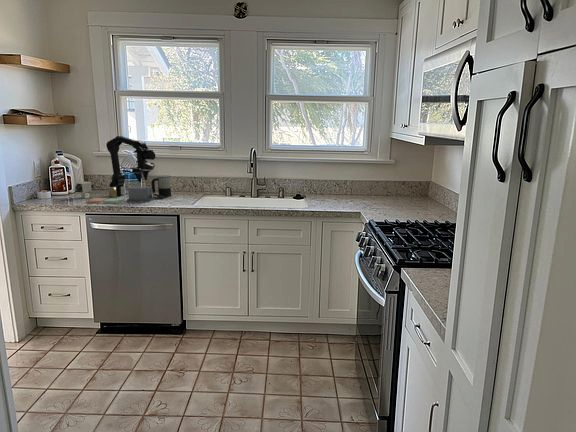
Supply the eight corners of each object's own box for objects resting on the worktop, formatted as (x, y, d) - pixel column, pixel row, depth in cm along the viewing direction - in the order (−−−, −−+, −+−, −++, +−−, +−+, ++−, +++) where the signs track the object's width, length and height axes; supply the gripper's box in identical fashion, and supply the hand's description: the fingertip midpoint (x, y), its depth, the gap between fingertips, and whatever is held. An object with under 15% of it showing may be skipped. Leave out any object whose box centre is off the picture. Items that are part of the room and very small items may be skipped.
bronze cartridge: (111, 197, 306) (110, 186, 304) (118, 198, 305) (117, 186, 303) (108, 199, 301) (106, 187, 299) (114, 199, 300) (113, 188, 298)
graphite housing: (132, 198, 302) (131, 186, 300) (154, 199, 301) (153, 186, 299) (127, 200, 295) (126, 188, 293) (149, 201, 293) (148, 188, 291)
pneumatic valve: (94, 196, 309) (93, 180, 306) (80, 199, 299) (79, 182, 296) (89, 196, 311) (87, 179, 309) (75, 198, 301) (73, 182, 298)
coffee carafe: (170, 194, 320) (169, 174, 317) (174, 198, 306) (173, 177, 303) (150, 195, 314) (149, 175, 311) (154, 199, 300) (152, 178, 297)
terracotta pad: (94, 200, 297) (94, 197, 297) (108, 200, 296) (107, 198, 296) (86, 202, 287) (86, 200, 287) (100, 203, 286) (100, 200, 286)
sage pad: (110, 200, 296) (110, 198, 296) (124, 200, 295) (124, 198, 295) (103, 203, 286) (103, 201, 286) (117, 203, 285) (117, 201, 285)
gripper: (146, 160, 289) (148, 183, 293) (157, 158, 307) (159, 179, 311) (130, 160, 290) (132, 183, 294) (143, 158, 308) (144, 179, 312)
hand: (143, 181), depth 303 cm, fingers open, 9 cm apart
